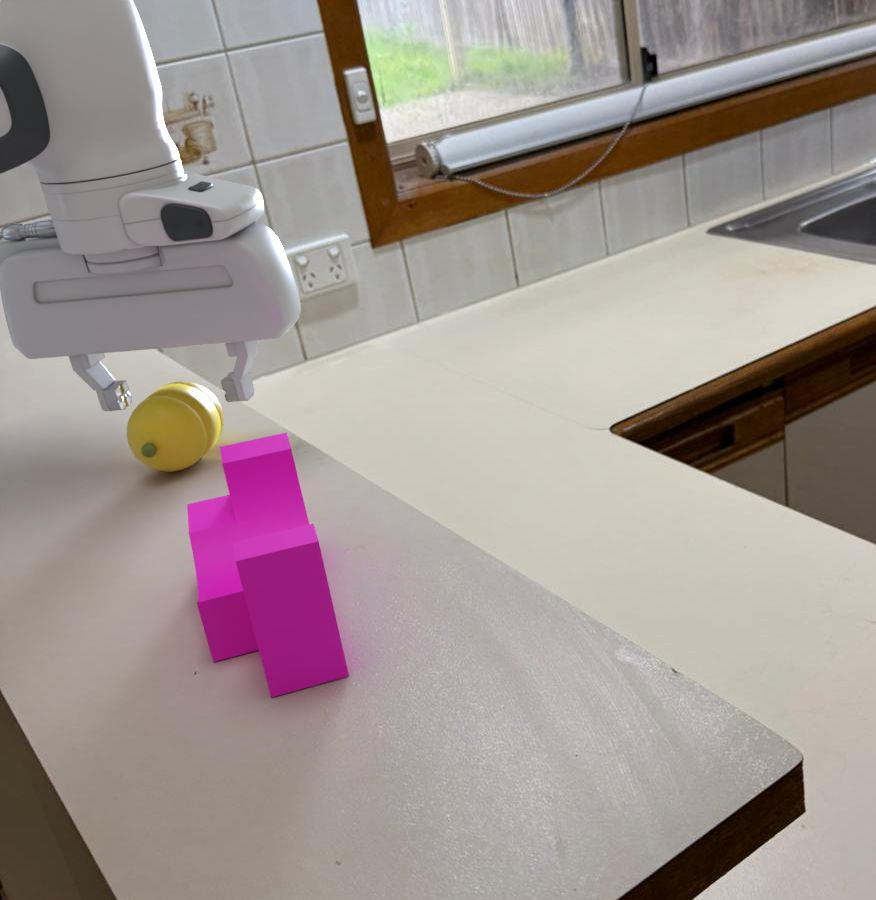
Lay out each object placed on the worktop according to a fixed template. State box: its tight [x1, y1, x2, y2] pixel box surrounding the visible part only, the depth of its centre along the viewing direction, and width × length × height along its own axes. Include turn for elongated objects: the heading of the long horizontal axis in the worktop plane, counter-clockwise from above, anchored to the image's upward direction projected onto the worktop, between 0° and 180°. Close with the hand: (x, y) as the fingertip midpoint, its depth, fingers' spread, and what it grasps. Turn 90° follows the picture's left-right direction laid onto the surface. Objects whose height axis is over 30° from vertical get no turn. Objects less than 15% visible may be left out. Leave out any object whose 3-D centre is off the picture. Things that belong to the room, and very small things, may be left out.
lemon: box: [126, 380, 225, 473], centre depth 82 cm, size 10×6×6 cm, turn 174°
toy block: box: [186, 432, 350, 698], centre depth 60 cm, size 15×6×8 cm, turn 20°
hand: (179, 403), depth 82 cm, fingers open, 8 cm apart
